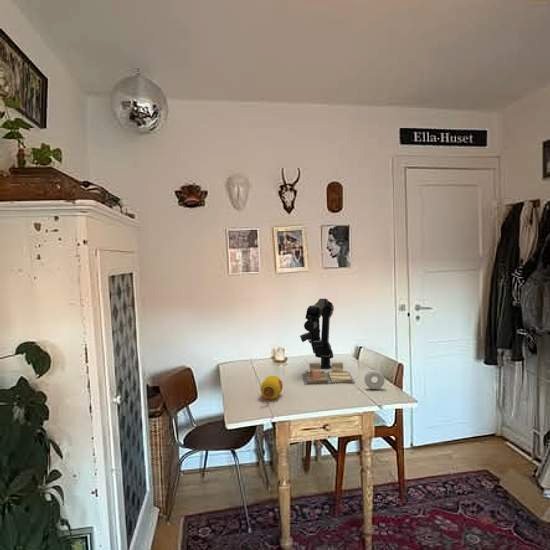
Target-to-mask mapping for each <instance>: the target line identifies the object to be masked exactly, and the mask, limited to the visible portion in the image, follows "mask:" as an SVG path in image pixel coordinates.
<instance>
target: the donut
mask: <svg viewBox="0 0 550 550" xmlns="http://www.w3.org/2000/svg"><path fill="white" fill-rule="evenodd" d="M374 377H375V378H377V381H376V382H373V381H372V378H374ZM385 381H386V380H385V375H384V374H383V373H382V371H379V370H377V369H371V370H369V371H367V372H366V374H365V375H364V384H365V385H366V386H367V387H368V389H371V390H374V389H376V390H379V389H381V388H382V387H383V386H384V385H385Z"/></svg>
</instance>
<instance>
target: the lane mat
mask: <svg viewBox="0 0 550 550" xmlns="http://www.w3.org/2000/svg"><path fill="white" fill-rule="evenodd" d="M347 372H348V373H349V375H350V377H351V379H352V382H331V380H330V377H329V375H328V372H325V374H326V377H327V380H328V383H307V379H306V375H305V372H304V373H302V377H303V383H304V384H303V385H306V386H307V385H313V384H314V385H337V383H348V384H356V382H355V380H354V378H353V376H352V375H351V373H350V372H349V371H347ZM335 383H336V384H335ZM314 385H313V386H314Z"/></svg>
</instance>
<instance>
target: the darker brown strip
mask: <svg viewBox="0 0 550 550" xmlns="http://www.w3.org/2000/svg"><path fill="white" fill-rule="evenodd" d="M320 365H321V362H314V363H312V362H311V363H309V371H305V372H304V373H305V375H306V379H307V383H328V380H327V377H326V374H325V373H326V372H325V371H321V367H320ZM312 369H320V376H321V378H318V379H313V371H312Z"/></svg>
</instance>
